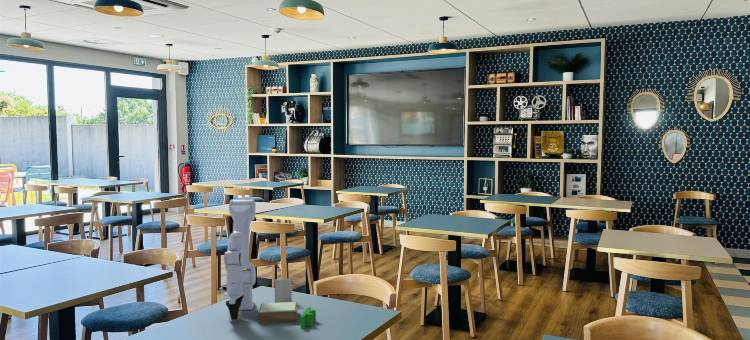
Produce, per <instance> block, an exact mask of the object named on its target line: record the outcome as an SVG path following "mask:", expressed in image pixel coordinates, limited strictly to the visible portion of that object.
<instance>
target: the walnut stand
mask: <svg viewBox="0 0 750 340" xmlns="http://www.w3.org/2000/svg"><path fill="white" fill-rule="evenodd" d="M257 317H258V324H280V323H281V324H282V323H296V322H298V321H297V320H298V302H296V301H292V302H281V303H275V302H261V304H260V306H259V310H258V316H257Z"/></svg>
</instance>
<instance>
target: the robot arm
mask: <svg viewBox="0 0 750 340" xmlns="http://www.w3.org/2000/svg"><path fill="white" fill-rule="evenodd" d="M228 212H229V214H230V216H231V218H232V221H233V223H232V232H231V233H230V234H229V237H228V243H227V251H225V252H224V256H223V264H224V266H225V267H224V268H225V269H224V270H225V271H226V272H225V273H226V292H224V293H223V297H227V298H228V300H226V301H225V305H226V307H227V309H228V313H229V312H230V316H231V319H232V320H237V318H238V312H239V307H240V306H241V311H243V310H245V311H246V310H253V308H254V305H255V301H253V286H254V285H255V284H256V281H257V279H256V278H257V273H256V266H255V265H254V264H253V263H252V262H251V261H250V232H251V231H250V228H251V226H250V225H251V222H252V221H255V219H256V201H255V199H254V198H252V199H230V201H229V204H228Z"/></svg>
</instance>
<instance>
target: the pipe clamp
mask: <svg viewBox="0 0 750 340" xmlns="http://www.w3.org/2000/svg"><path fill="white" fill-rule="evenodd" d="M316 315H317V310H316V309H312V307H311V306H308V307H307V308H306V309H305V311H304V312H303V313H302V314H301V316H300V329H302V330H303V329H305V328H306V327H313V326H314V323H316V322H317V316H316Z"/></svg>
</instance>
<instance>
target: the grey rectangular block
mask: <svg viewBox="0 0 750 340" xmlns="http://www.w3.org/2000/svg"><path fill="white" fill-rule="evenodd" d="M281 302H293V284H292V278H279V279H277V278H276V279H274V303H281Z"/></svg>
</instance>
